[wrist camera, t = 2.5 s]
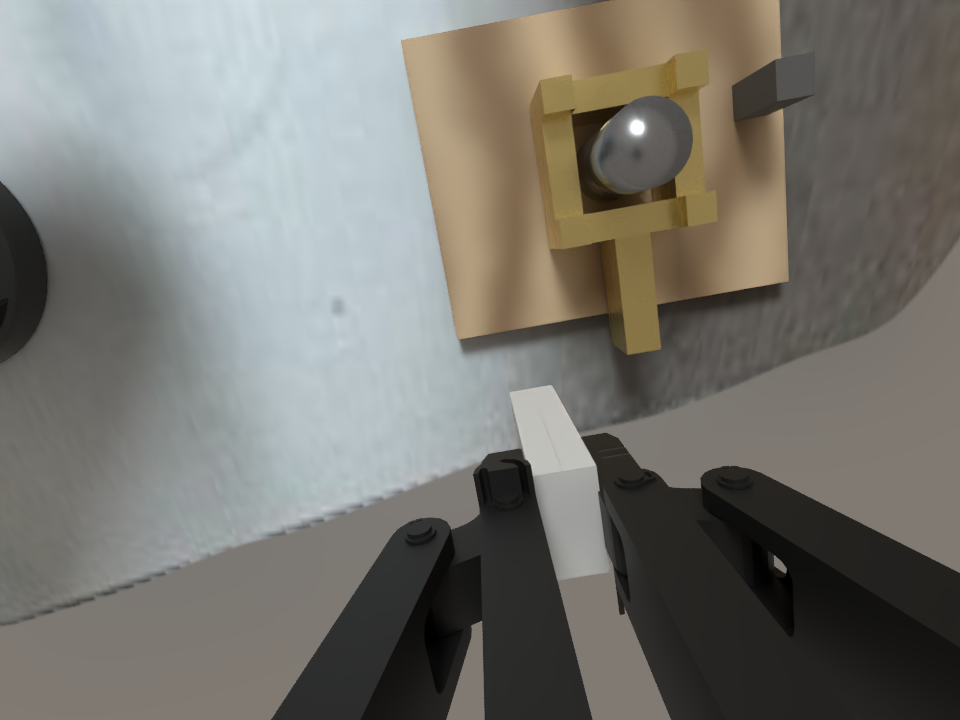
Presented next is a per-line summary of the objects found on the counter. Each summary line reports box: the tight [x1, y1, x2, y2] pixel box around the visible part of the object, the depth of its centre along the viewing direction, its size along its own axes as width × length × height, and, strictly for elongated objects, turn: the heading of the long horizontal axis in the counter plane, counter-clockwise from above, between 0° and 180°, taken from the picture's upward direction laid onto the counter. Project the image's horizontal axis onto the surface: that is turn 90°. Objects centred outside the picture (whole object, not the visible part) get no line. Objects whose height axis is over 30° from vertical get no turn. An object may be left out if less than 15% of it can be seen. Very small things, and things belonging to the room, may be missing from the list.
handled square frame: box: [529, 49, 718, 355], centre depth 29 cm, size 15×8×5 cm, turn 10°
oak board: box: [401, 0, 789, 340], centre depth 31 cm, size 22×18×1 cm
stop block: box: [732, 52, 815, 121], centre depth 28 cm, size 2×2×4 cm
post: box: [576, 96, 693, 202], centre depth 28 cm, size 4×4×9 cm
